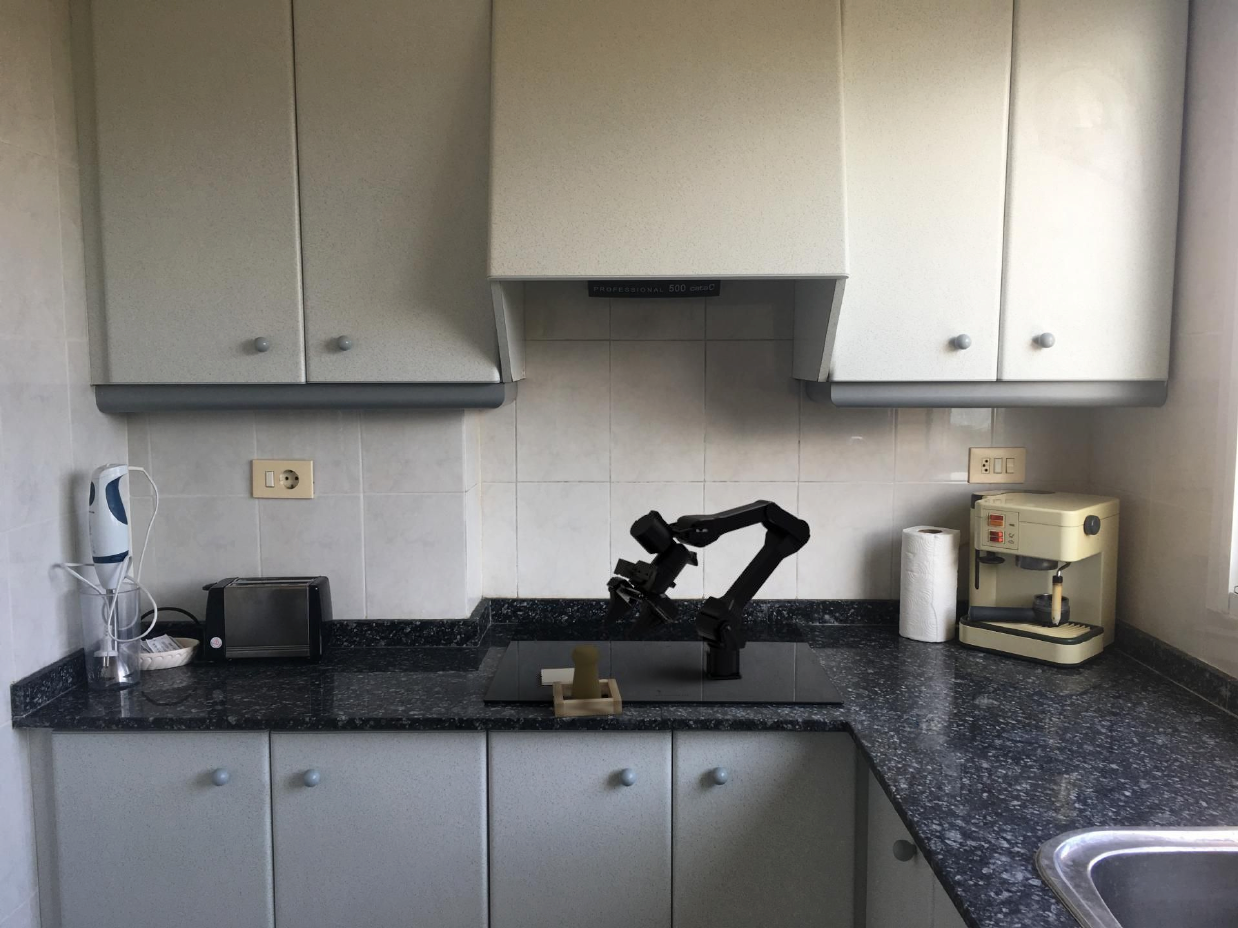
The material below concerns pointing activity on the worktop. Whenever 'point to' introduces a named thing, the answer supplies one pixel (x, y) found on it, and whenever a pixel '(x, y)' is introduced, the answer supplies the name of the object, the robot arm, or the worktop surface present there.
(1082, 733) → the worktop surface
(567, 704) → the oak collar
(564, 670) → the cream tile
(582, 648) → the olive knobbed peg
